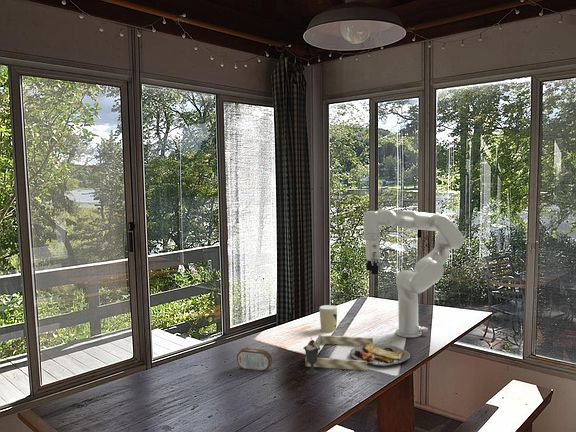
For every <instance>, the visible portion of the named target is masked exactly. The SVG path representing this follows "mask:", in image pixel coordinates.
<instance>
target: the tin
mask: <svg viewBox="0 0 576 432" xmlns="http://www.w3.org/2000/svg"><path fill="white" fill-rule="evenodd" d="M236 363H237V365H238V366H239V367H240V368H241V369H242V370H243V369H244V370H248V369H249V370H248V371H256V370H257V372H265V371H267V370H268V369H269V368H271V367H272V364H273V357H272V355H271V354H270V352H269V351H267V350H265V349H260V348H259V349H258V348H250V347H244V348H241V350H240V351H238V353H237V355H236Z"/></svg>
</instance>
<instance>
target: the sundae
mask: <svg viewBox="0 0 576 432" xmlns="http://www.w3.org/2000/svg"><path fill="white" fill-rule="evenodd" d="M312 338H313V337H310V339H309V342H308V343H307V345H305V346H304V347H303V350H304V351H305V357H306V358H307V362H308V363H310V364H311V367H310V369H309V370H306V372H305V373H306V374H307V375H308V376H309V375H310V376H314V375H318V374H319V371H318V370H316V369H315V367H314V364H315V363H316V362H317V358H319V357H318V355H319V351H320V350H321V346H317V343H316V342H315V341H316V340H314V339H312Z"/></svg>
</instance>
